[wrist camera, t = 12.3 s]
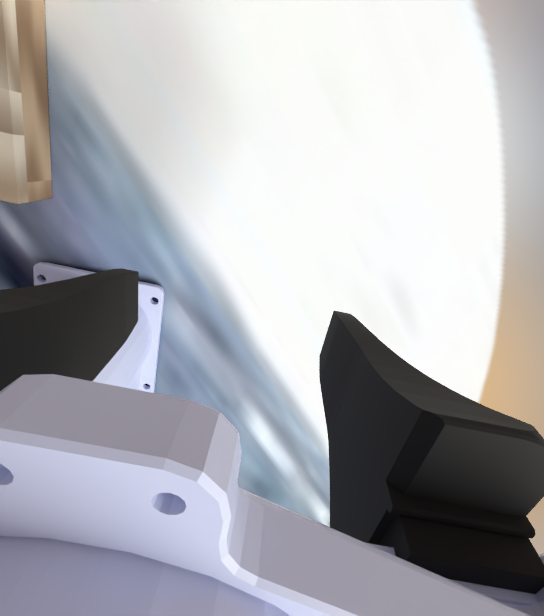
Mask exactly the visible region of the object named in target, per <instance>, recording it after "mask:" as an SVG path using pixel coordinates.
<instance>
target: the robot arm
mask: <svg viewBox="0 0 544 616" xmlns="http://www.w3.org/2000/svg"><path fill="white" fill-rule="evenodd" d="M41 275H43V276H44V277H45V278H46V280H43V279H42V277H41ZM33 276H34V286H29V287H23V288H15V289H6V290H0V616H544V554H540V555H538V554H537V552H536V550H535V549H534V547H533V545H532V543H531V542H530V540H529V538H533V537H534V536H535V530H534V528H533V526H532V525H531V523H530V522H529V520H528V518H527V517H526V515H527V514H528V513H529V512H530V511H531V510H532V509H533V508H534V507H535V505H536V504H537V503H538V502H539V501H540V500H541V499H542V498H543V497H544V439H543V437H542V436H541V435H540V434H539V433H538V431H537V430H536V429H535V428H534V427H533V426H532V425H530V424H527V423H525V422H522V421H520V420H517V419H515V418H512V417H510V416H507V415H505V414H502V413H500V412H497V411H495V410H492V409H490V408H488V407H485V406H483V405H481V404H479V403H477V402H475V401H472V400H470V399H468V398H466V397H464V396H462V395H460V394H458V393H456V392H454V391H452V390H450V389H449V388H447V387H445V386H443V385H442V384H440V383H438V382H436V381H435V380H433V379H431V378H430V377H428V376H426V375H425V374H423V373H422V372H420V371H419V370H417V369H416V368H414V367H413V366H411V365H410V364H408V363H407V362H406V361H404V360H403V359H402V358H400V357H399V356H398V355H397V354H395V353H394V352H393V351H392V350H390V349H389V348H388V347H387V346H386V345H385V344H383V343H382V342H381V341H380V340H379V339H378V338H377V337H376V336H374V335H373V334H372V333H371V332H370V331H369V330H368V329H367V328H366V327H365V326H364V325H363V324H362V323H361V322H359V321H358V320H357V319H356V318H355V317H354V316H352V315H351V314H348V313H343V312H338V311H334V312H333V315H332V318H331V322H330V325H329V328H328V331H327V334H326V338H325V341H324V344H323V347H322V350H321V354H320V384H321V391H322V398H323V404H324V411H325V417H326V424H327V431H328V440H329V465H330V527H328V526H325V525H323V524H321V523H319V522H316V521H314V520H312V519H309V518H307V517H305V516H303V515H300V514H298V513H296V512H293V511H291V510H289V509H287V508H284V507H282V506H280V505H277V504H275V503H273V502H271V501H268V500H266V499H264V498H261V497H259V496H257V495H255V494H252V493H250V492H248V491H245V490H243V489H241V488H239V486H238V484H237V480H238V474H239V468H240V462H241V456H242V450H241V443H240V437H239V431H238V430H237V429H236V428H235V427H234V426H233V425H232V424H231V423H230V422H229V421H228V420H227V419H226V418H225V417H224V416H223V415H222V414H221V413H220V412H219V411H217V410H215V409H212V408H210V407H207V406H205V405H202V404H200V403H197V402H195V401H192V400H189V399H183V398H178V397H173V396H167V395H162V394H157V393H154V389H155V379H156V369H157V360H158V350H159V341H160V331H161V322H162V312H163V302H164V290H163V288H162V287H161V286H159V285H155V284H150V283H145V282H140V281H138V272H136V271H131V270H126V269H112V270H107V271H102V272H97V273H96V272H91V271H86V270H81V269H76V268H72V267H67V266H62V265H57V264H52V263H47V262H39V263H37V264H35V265H34V266H33ZM152 297H155V298H157V299H158V301H159V302H154V301H153V300H152ZM145 384H149V385H150V386H146V385H145Z"/></svg>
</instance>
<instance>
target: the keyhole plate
mask: <svg viewBox="0 0 544 616" xmlns="http://www.w3.org/2000/svg"><path fill="white" fill-rule="evenodd" d="M49 198H52V180H51V155H50V130H49V104H48V79H47V54H46V28H45V3H44V0H0V200H2V201H7V202H11V203H16V204H21V203H27V202H32V201H38V200H43V199H49Z"/></svg>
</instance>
